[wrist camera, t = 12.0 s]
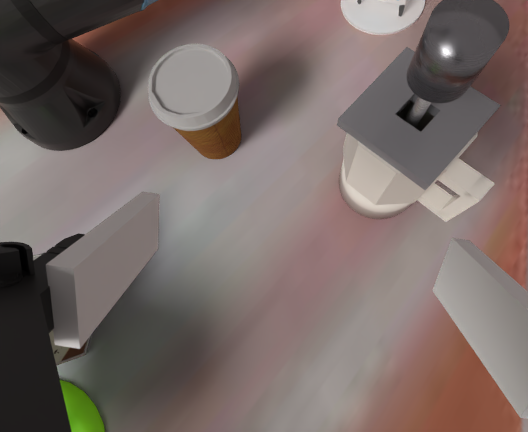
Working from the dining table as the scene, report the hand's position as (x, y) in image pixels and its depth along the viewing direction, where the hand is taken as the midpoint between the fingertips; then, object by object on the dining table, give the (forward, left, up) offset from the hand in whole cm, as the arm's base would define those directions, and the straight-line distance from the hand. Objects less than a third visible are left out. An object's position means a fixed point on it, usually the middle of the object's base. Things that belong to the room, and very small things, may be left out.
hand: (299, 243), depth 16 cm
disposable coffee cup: (-21, -6, -25) cm, 33 cm away
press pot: (-8, +13, -25) cm, 29 cm away
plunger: (-10, +12, -18) cm, 24 cm away
